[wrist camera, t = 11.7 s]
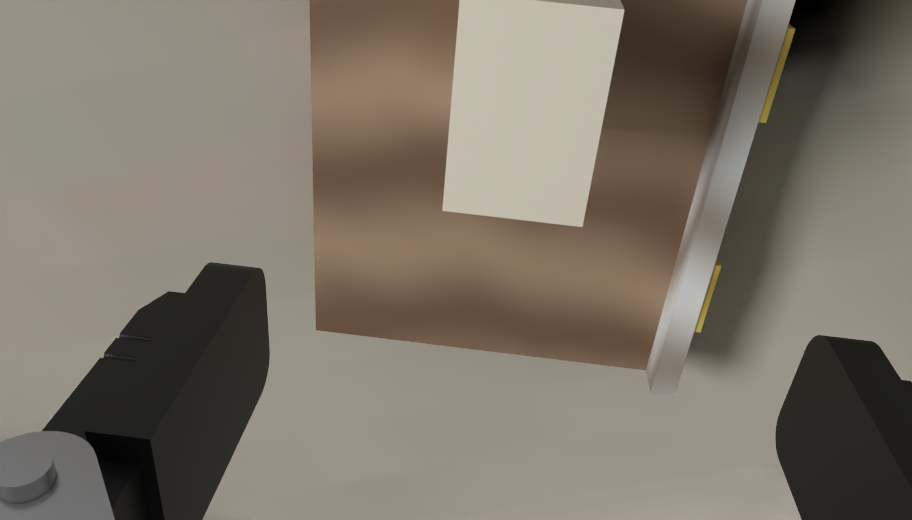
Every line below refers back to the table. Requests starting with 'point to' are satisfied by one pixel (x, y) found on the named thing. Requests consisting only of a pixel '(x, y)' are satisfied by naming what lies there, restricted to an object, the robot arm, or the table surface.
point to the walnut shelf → (527, 242)
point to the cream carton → (529, 106)
